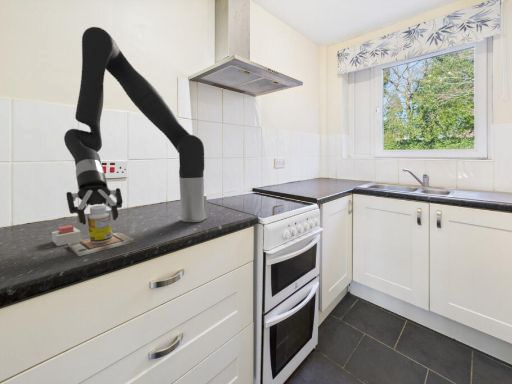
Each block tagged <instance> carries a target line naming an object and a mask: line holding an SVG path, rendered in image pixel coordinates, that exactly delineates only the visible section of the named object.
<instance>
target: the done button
mask: <svg viewBox="0 0 512 384" xmlns="http://www.w3.org/2000/svg"><path fill="white" fill-rule="evenodd" d="M57 228H58V231H59V234H65V233H70V232H74V231H73V228H74V226H73V225H71V224H69V225H63V226H58V227H57Z"/></svg>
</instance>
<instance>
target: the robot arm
mask: <svg viewBox="0 0 512 384" xmlns="http://www.w3.org/2000/svg"><path fill="white" fill-rule="evenodd" d="M81 62H82V63H81V76H80V77H81V79H80V88H79V94H78V97H77V105H76V110H75V115H74V117H75V120H76V121H77V122H78V123H81V124H84V125H85V126H87V127H89V130H90V131H87V130H82V129H78V128H70V129H68V130H67V131H66V132H65V134H64V136H63V139H64V140H63V141H64V144H65V146H66V149H67V150H68V152H69V153H70V155H71V156H72V158H73V160H74V163H75V178H76V182H77V187H78V188H77V189H78V191H77V192H75V193H74V192H73V193H72V192H71V191H67V192H66V200H67V207H68V210H69V213H70V214H77V217H78V222H79V223H80V224H82V225H83V226H84V225H86V224H87V220H86V214H85V210H87V208H88V207H89V206H96V205H103V206H106V208H107V207H108V208H109V209H110V212H111V213H110V214H111V216H112V221H116V220H117V219H118V218H119V211H118V209H121V208H122V207H123V202H124V201H123V196H122V192H121V189H120V188H118V187H117V188H116V189H114V190H113V189H109V187H108V182H107V179H106V173H105V170H104V168H103V165H102V163H101V162H102V161H101V156H100V155H99V152H100V151H101V149H102V145H103V141H102V134H101V119H102V118H101V117H102V113H103V108H104V82H105V81H104V80H105V73H106V71H107V72H108V73H109V74H110V75H111V76H112V77H113V78H114V79H115V80H116V81H117V82H118V84H119V85H120V86H121V87H122V89H123V91H124V92H125V93H126V95H127V96H128V98H129V99H130V101H131V102H132V103H133V104H134V106H135V107H136V108H137V109H138V110H139V111H140V113H142V114H143V115H144V116H145V118H147V119H148V120H149V122H151V123H152V124H153V126H155V127H156V128H157V129H158V130H159V131H161V133H163V134H164V135H165V137H166V139H168V140H169V142H170V143H171V145H172V146H173V147H174V148H175V150H176V151H177V153H178V158H179V161H178V162H179V163H178V164H179V170H178V174H179V175H178V176H179V194H180V213H181V221H182V222H184V223H198V222H202V221H205V220H206V219H208V203H207V195H206V194H205V182H204V181H205V178H204V176H205V175H204V172H205V146H204V143H203V141H202V139H201V138H200V137H199V136H197V135H194V134H191V133H189V131H188V130H187V129H186V128H185V127H184V126H183V125H182V124H181V123H180V122H179V120H178V118H177V117H176V115H175V114H174V112H173V110H172V109H171V107H170V105H169V103H167V101H166V100H165V99H164V97H163V96H162V95H161V94H160V93H159V91H158V90H157V89H156V88H155V87H154V85H152V84H151V83H150V82H149V81H148V80H147V79H146V78H145V77H144V76H143V75H142V74H141V73H140V72H138V71H137V70H136V69H135V68H134V67H133V65H132V64H131V63H130V61H129V60H128V59H127V58H126V56H125V55H124V54H123V52H122V50H121V49H120V48H119V45H118V44H117V43H116V41H115V40H114V38H113V37H112V36H111V34H110V33H109V32H107V31H106V30H105V29H104V28H102V27H98V26H91V27H88V28H87V29H85V30H84V32H83V33H82V36H81ZM111 195H112V196H113V198H115V200H116V202H115V201H114V200H113V198H111ZM77 198H78V199H79V200H80V204H78V206H75V201H76V200H77Z"/></svg>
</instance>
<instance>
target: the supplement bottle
mask: <svg viewBox="0 0 512 384" xmlns="http://www.w3.org/2000/svg"><path fill="white" fill-rule="evenodd" d="M111 222H112V221H111V213H110V212H109V211H107V206H106V205H92V206H90V207H89V214H88V215H87V223H88V224H87V225H88V233H89V239H90V241H91V242H92V243H96V244H98V243H105V242H108V241H110V240H111V239H112V234H113V231H112V223H111Z"/></svg>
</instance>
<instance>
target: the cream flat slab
mask: <svg viewBox="0 0 512 384" xmlns="http://www.w3.org/2000/svg"><path fill="white" fill-rule="evenodd" d="M132 243H135V239H134V238H132V237H130V236H128V235H127V234H126V235H125V234H124V233H121V232H115V233H112V239H111V240H110V241H108V242H105V243H98V244H96V243H92V242H91V241H90V238H88V239H82V241H78V242H73V243H68V244H67V247H68V248H69V249H70V250H71V251H73V252H74V253H75V255H77V256H78V257H82V256H85V255H90V254H92V253H94V254H95V253H97V252H101V251H105V250H108V249H113V248H116V247H122V246H125V245H128V244H132Z"/></svg>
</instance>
